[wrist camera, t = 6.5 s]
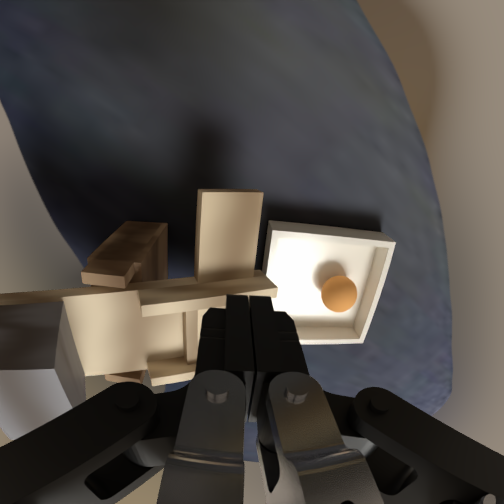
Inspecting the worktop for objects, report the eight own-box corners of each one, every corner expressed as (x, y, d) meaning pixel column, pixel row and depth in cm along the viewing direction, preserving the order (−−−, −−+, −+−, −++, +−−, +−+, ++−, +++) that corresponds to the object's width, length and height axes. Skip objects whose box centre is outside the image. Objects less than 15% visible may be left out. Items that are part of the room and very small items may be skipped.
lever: (20, 370, 16) (11, 441, 10) (-28, 206, 11) (-84, 252, 5) (249, 341, 25) (291, 399, 19) (269, 189, 20) (337, 220, 14)
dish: (268, 220, 26) (272, 230, 24) (382, 232, 27) (395, 242, 25) (254, 326, 31) (256, 343, 28) (354, 327, 32) (362, 343, 29)
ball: (318, 270, 27) (338, 288, 24) (348, 268, 28) (368, 285, 25) (311, 301, 29) (328, 321, 26) (340, 298, 30) (358, 316, 27)
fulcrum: (133, 308, 29) (100, 379, 19) (126, 220, 25) (74, 271, 16) (169, 312, 29) (147, 387, 20) (167, 223, 26) (131, 277, 16)
